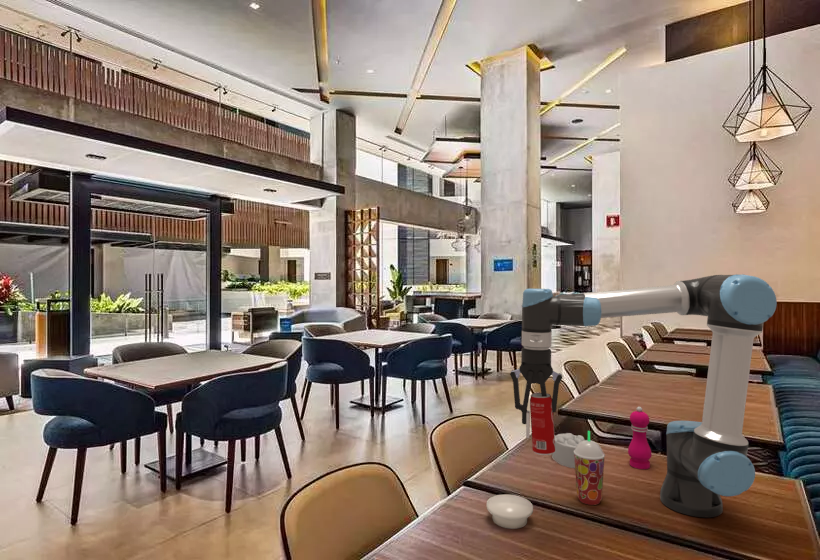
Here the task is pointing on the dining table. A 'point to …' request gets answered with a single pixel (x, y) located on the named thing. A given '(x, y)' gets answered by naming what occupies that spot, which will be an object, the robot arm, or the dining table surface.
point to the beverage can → (542, 424)
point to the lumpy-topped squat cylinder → (566, 448)
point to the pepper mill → (639, 440)
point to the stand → (509, 510)
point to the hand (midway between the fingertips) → (535, 437)
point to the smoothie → (589, 471)
